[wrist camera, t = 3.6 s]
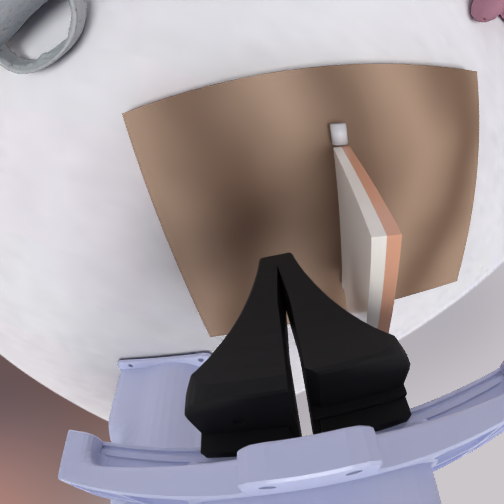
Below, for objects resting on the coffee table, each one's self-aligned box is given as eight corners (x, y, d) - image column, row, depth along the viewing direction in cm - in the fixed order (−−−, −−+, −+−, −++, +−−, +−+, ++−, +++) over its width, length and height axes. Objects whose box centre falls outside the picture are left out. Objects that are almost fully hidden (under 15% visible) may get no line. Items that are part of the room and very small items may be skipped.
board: (211, 325, 22) (210, 336, 21) (130, 110, 13) (122, 113, 12) (449, 272, 20) (456, 281, 19) (464, 69, 12) (476, 71, 11)
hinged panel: (354, 404, 12) (371, 402, 11) (371, 195, 6) (404, 192, 6) (341, 282, 19) (353, 281, 18) (328, 123, 13) (344, 121, 13)
